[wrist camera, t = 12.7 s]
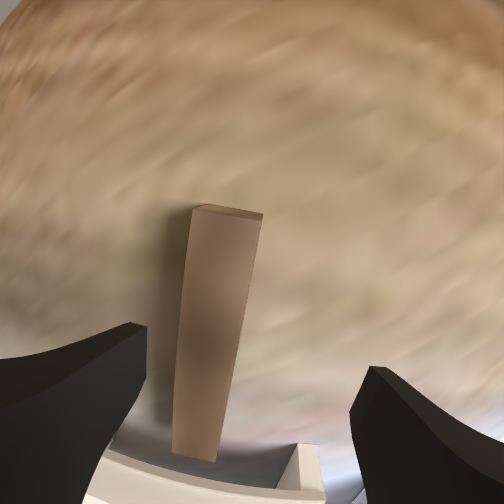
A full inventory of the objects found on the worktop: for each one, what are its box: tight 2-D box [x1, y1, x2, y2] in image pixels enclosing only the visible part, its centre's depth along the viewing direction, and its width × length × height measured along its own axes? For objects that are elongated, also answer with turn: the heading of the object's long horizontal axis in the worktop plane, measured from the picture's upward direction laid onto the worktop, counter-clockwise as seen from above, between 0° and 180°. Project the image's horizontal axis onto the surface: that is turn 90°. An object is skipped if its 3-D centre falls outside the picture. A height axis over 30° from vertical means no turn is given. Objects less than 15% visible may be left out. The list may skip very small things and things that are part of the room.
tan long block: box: [172, 204, 263, 463], centre depth 17 cm, size 3×16×4 cm, turn 170°
